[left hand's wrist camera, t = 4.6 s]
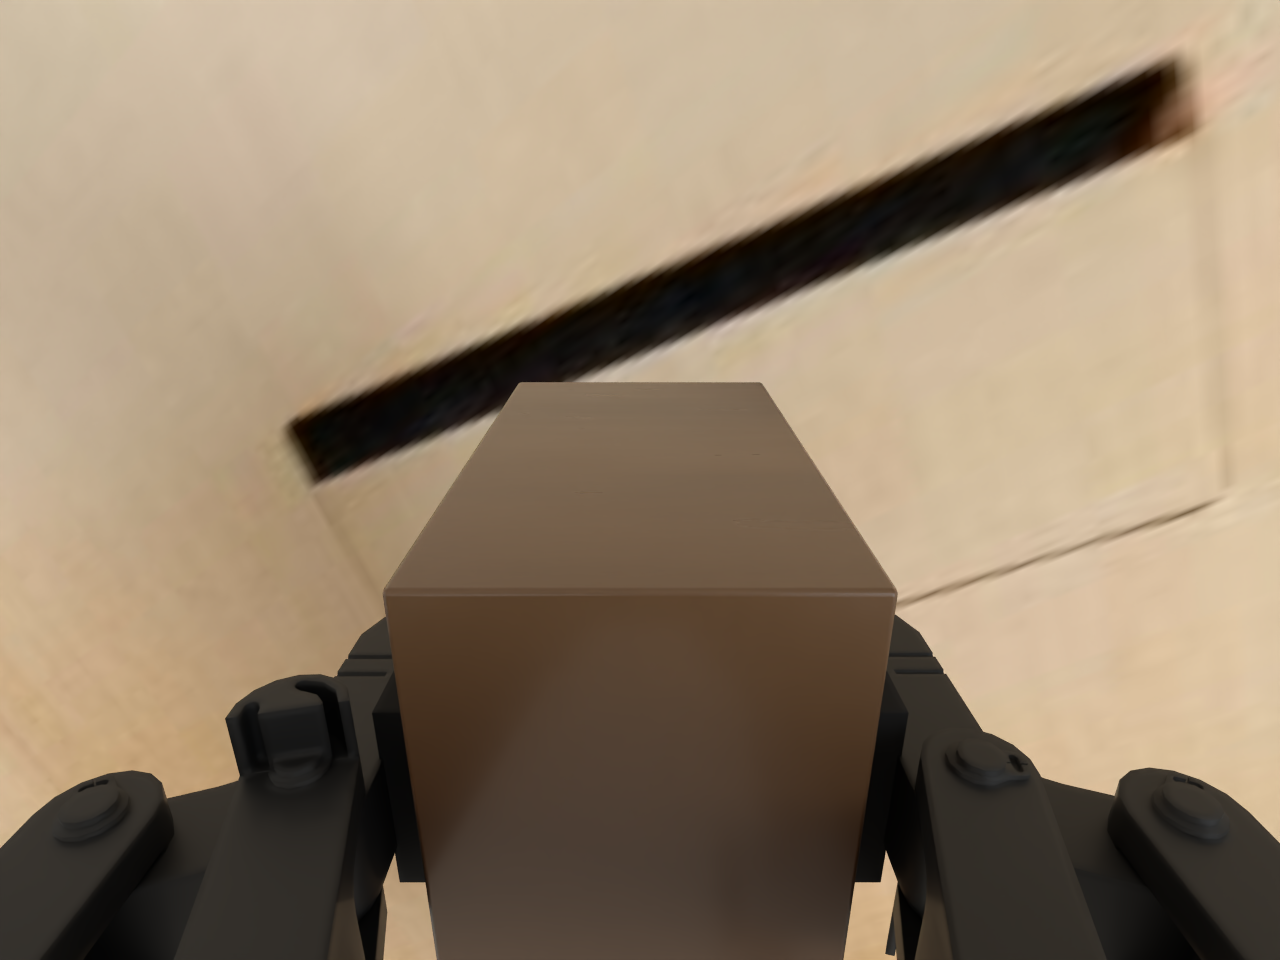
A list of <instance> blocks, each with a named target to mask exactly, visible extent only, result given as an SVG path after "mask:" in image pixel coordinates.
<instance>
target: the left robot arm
mask: <svg viewBox="0 0 1280 960" xmlns="http://www.w3.org/2000/svg"><path fill="white" fill-rule="evenodd" d="M225 720H226V723H227V727H228V731H229V735H230V739H231V743H232V747H233V751H234V754H235V758H236V762H237V766H238V770H239V774H240V777H239V780H238V781H236V782H232V783H229V784H226V785H222V786H219V787H215V788H211V789H206V790H202V791H198V792H194V793H189V794H185V795H181V796H176V797H172V798H168V799H167V798H166V795H165V791H164V788H163V785H162V782H160V781H159V780H158V779H157V778H156V777H154V776H153V775H152V774H150V773H144V772H138V771H125V772H117V773H109V774H106V775H103V776H100V777H97V778H94V779H91V780H88V781H85V782H82V783H80V784H78V785H76V786H74V787H73V788H71V789H69V790H67V791H65V792H63V793H62V794H60V795H58V796H56V797H54V798H53V799H52V800H51V801H50V802H48V803H47V804H46V805H45V806H43V807H42V808H41V809H40V810H38V811H37V812H36V813H35V814H34V815H32V816H31V818H30V819H29V820H28V821H27V822H26V823H25V824H24V825H23V826H22V827H21V828H20V829H19V830H18V831H17V832H16V833H15V834H14V835H13V836H12V837H11V838H10V839H9V840H8V841H7V842H6V843H5V844H4V845H3V846H2V847H1V848H0V960H383V955H384V943H385V932H386V920H387V908H386V901H385V895H384V889H383V883H384V880H385V878H386V875H387V872H388V870H389V867H390V864H391V862H392V859H393V856H394V854H395V855H396V861H397V867H398V873H399V879H400V882H425V875H424V868H423V862H422V855H421V848H420V841H419V835H418V828H417V821H416V814H415V808H414V801H413V794H412V787H411V781H410V774H409V767H408V760H407V754H406V747H405V740H404V733H403V727H402V720H401V713H400V706H399V700H398V693H397V686H396V679H395V673H394V666H393V659H392V652H391V646H390V639H389V632H388V625H387V619H386V617H384V618H383V619H382V620H380V621H379V622H378V623H376V624H375V625H374V626H372V627H371V628H370V629H368V630H367V631H366V632H364V633H363V634H362V635H361V636H360V638H359V639H358V641H357V642H356V644H355V646H354V647H353V649H352V650H351V652H350V653H349V655H348V659H346V660H345V661H344V663H343V664H342V666H341V668H340V669H339V671H338V675H337V676H335V677H334V678H332V677H329V676H325V675H321V674H317V675H297V676H293V677H289V678H285V679H280V680H276V681H274V682H272V683H269V684H267V685H265V686H263V687H261V688H258V689H256V690H254V691H253V692H251V693H250V694H249V695H247V696H246V697H244V698H243V699H242V700H240V701H239V702H238V703H236V705H235V706H234V707H233V709H232V710H231V711H230V713H229V714H228V716H227V717H226V718H225ZM886 851H887V854H888V857H889V859H890V862H891V865H892V867H893V870H894V873H895V875H896V878H897V881H898V884H897V889H896V895H895V900H894V906H893V912H892V917H891V923H890V928H889V934H888V940H887V946H886V953H885V954H888V955H893V956H895V951H896V953H897V960H1280V843H1279V842H1278V841H1277V840H1276V839H1275V838H1274V837H1273V836H1272V835H1271V834H1270V833H1269V832H1268V831H1267V830H1266V829H1265V828H1264V827H1263V826H1262V825H1261V824H1260V823H1259V822H1258V821H1257V820H1256V819H1255V818H1254V817H1253V816H1252V815H1251V814H1250V813H1249V812H1248V811H1247V810H1246V809H1245V808H1243V807H1242V806H1241V805H1240V804H1238V803H1237V802H1236V801H1235V800H1233V799H1232V798H1231V797H1230V796H1228V795H1227V794H1225V793H1224V792H1222V791H1220V790H1218V789H1216V788H1214V787H1213V786H1211V785H1209V784H1207V783H1205V782H1203V781H1201V780H1199V779H1196V778H1193V777H1190V776H1187V775H1184V774H1181V773H1178V772H1175V771H1171V770H1163V769H1156V768H1144V769H1138V770H1132V771H1130V772H1128V773H1127V774H1126V775H1125V776H1124V777H1123V778H1121V779H1120V781H1119V784H1118V787H1117V790H1116V793H1115V796H1113V795H1108V794H1104V793H1100V792H1095V791H1091V790H1086V789H1082V788H1078V787H1073V786H1069V785H1065V784H1061V783H1058V782H1054V781H1051V780H1048V779H1045V778H1042V777H1041V776H1040V774H1039V772H1038V771H1037V769H1036V768H1035V766H1034V765H1033V763H1032V761H1031V760H1030V759H1029V758H1028V757H1027V756H1026V755H1025V754H1023V753H1022V752H1021V751H1020V750H1019V749H1017V748H1016V747H1015V746H1014V745H1012V744H1010V743H1008V742H1006V741H1004V740H1002V739H1000V738H998V737H997V736H995V735H993V734H989V733H986V732H983V731H982V729H981V728H980V726H979V724H978V723H977V721H976V720H975V718H974V717H973V715H972V714H971V712H970V710H969V709H968V707H967V706H966V704H965V703H964V701H963V700H962V698H961V696H960V695H959V693H958V692H957V690H956V689H955V687H954V685H953V684H952V682H951V681H950V679H949V678H948V676H947V675H946V674H944V673H943V668H942V667H941V665H940V664H939V662H938V661H937V659H936V657H933V655H932V651H931V650H930V648H929V647H928V645H927V643H926V642H925V640H924V639H923V637H922V636H921V634H920V632H918V631H917V630H916V629H914V628H913V627H911V626H910V625H909V624H907V623H906V622H905V621H903V620H902V619H901V618H899V617H898V616H897V615H894V622H893V629H892V635H891V642H890V649H889V656H888V662H887V669H886V676H885V683H884V689H883V696H882V703H881V709H880V716H879V723H878V730H877V736H876V743H875V750H874V756H873V763H872V770H871V777H870V783H869V790H868V797H867V803H866V810H865V817H864V824H863V830H862V837H861V844H860V850H859V857H858V864H857V871H856V877H855V882H881V876H882V870H883V864H884V858H885V852H886Z"/></svg>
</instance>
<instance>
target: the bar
mask: <svg viewBox="0 0 1280 960" xmlns="http://www.w3.org/2000/svg"><path fill="white" fill-rule="evenodd" d="M897 595H898V593H897V590H896V588H895V586H894V585H893V583H892V582H891V580H890V579H889V577H888V576H887V574H886V573H885V571H884V570H883V568H882V567H881V565H880V563H879V562H878V560H877V559H876V557H875V556H874V554H873V553H872V551H871V550H870V548H869V547H868V545H867V544H866V542H865V541H864V539H863V537H862V536H861V534H860V533H859V531H858V530H857V528H856V527H855V525H854V524H853V522H852V521H851V519H850V518H849V516H848V514H847V513H846V511H845V510H844V508H843V507H842V505H841V504H840V502H839V501H838V499H837V498H836V496H835V495H834V493H833V492H832V490H831V488H830V487H829V485H828V484H827V482H826V481H825V479H824V478H823V476H822V475H821V473H820V472H819V470H818V469H817V467H816V465H815V464H814V462H813V461H812V459H811V458H810V456H809V455H808V453H807V452H806V450H805V449H804V447H803V446H802V444H801V442H800V441H799V439H798V438H797V436H796V435H795V433H794V432H793V430H792V429H791V427H790V426H789V424H788V423H787V421H786V420H785V418H784V416H783V415H782V413H781V412H780V410H779V409H778V407H777V406H776V404H775V403H774V401H773V400H772V398H771V397H770V395H769V393H768V392H767V390H766V389H765V387H764V386H763V384H762V383H591V382H521V383H519V384H518V386H517V387H516V389H515V390H514V392H513V393H512V395H511V396H510V398H509V399H508V401H507V402H506V404H505V405H504V407H503V408H502V410H501V412H500V413H499V415H498V416H497V418H496V419H495V421H494V422H493V424H492V425H491V427H490V428H489V430H488V431H487V433H486V434H485V436H484V437H483V439H482V440H481V442H480V444H479V445H478V447H477V448H476V450H475V451H474V453H473V454H472V456H471V457H470V459H469V460H468V462H467V463H466V465H465V466H464V468H463V469H462V471H461V473H460V474H459V476H458V477H457V479H456V480H455V482H454V483H453V485H452V486H451V488H450V489H449V491H448V492H447V494H446V495H445V497H444V498H443V500H442V501H441V503H440V505H439V506H438V508H437V509H436V511H435V512H434V514H433V515H432V517H431V518H430V520H429V521H428V523H427V524H426V526H425V527H424V529H423V530H422V532H421V534H420V535H419V537H418V538H417V540H416V541H415V543H414V544H413V546H412V547H411V549H410V550H409V552H408V553H407V555H406V556H405V558H404V559H403V561H402V562H401V564H400V566H399V567H398V569H397V570H396V572H395V573H394V575H393V576H392V578H391V579H390V581H389V582H388V584H387V585H386V587H385V588H384V591H383V598H384V605H385V612H386V619H387V625H388V632H389V639H390V646H391V652H392V659H393V666H394V673H395V679H396V686H397V693H398V700H399V706H400V713H401V720H402V727H403V733H404V740H405V747H406V754H407V760H408V767H409V774H410V781H411V787H412V794H413V801H414V808H415V814H416V821H417V828H418V835H419V841H420V848H421V855H422V862H423V868H424V875H425V882H426V889H427V895H428V902H429V909H430V916H431V922H432V929H433V936H434V943H435V949H436V956H437V960H843V958H844V951H845V945H846V938H847V931H848V924H849V918H850V911H851V904H852V897H853V891H854V884H855V877H856V871H857V864H858V857H859V850H860V844H861V837H862V830H863V824H864V817H865V810H866V803H867V797H868V790H869V783H870V777H871V770H872V763H873V756H874V750H875V743H876V736H877V730H878V723H879V716H880V709H881V703H882V696H883V689H884V683H885V676H886V669H887V662H888V656H889V649H890V642H891V635H892V629H893V622H894V615H895V609H896V602H897Z"/></svg>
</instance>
